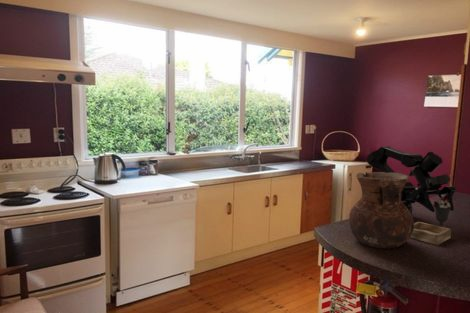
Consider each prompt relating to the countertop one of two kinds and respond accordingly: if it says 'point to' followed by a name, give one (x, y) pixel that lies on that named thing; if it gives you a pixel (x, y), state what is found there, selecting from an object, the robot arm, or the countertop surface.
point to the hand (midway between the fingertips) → (443, 211)
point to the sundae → (442, 210)
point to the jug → (381, 211)
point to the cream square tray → (430, 233)
